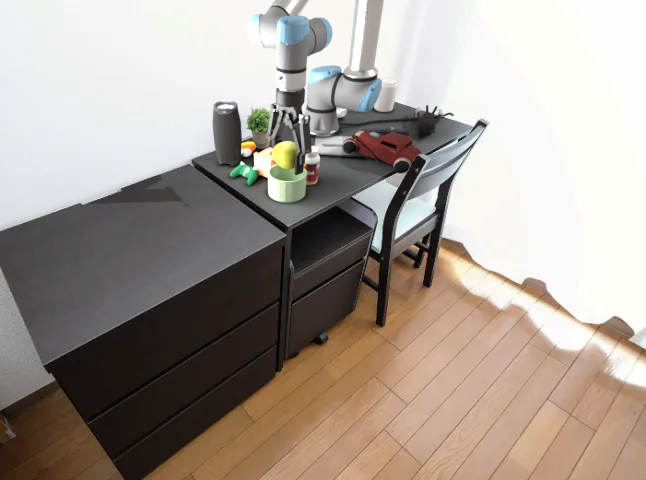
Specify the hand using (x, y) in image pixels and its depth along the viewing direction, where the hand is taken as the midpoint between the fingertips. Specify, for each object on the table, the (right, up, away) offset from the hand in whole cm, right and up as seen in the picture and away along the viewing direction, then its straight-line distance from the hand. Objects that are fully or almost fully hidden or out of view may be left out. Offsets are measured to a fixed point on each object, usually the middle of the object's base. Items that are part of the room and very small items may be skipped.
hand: (287, 167), depth 112 cm
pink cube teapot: (-5, +1, +15) cm, 16 cm away
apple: (0, 0, 0) cm, 0 cm away
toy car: (+35, +7, +20) cm, 41 cm away
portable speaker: (-19, +7, +22) cm, 29 cm away
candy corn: (-12, +15, +28) cm, 34 cm away
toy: (+65, +38, +51) cm, 91 cm away
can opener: (+39, +17, +32) cm, 53 cm away
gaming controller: (-13, -1, +13) cm, 18 cm away
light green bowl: (0, -6, +6) cm, 9 cm away
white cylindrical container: (+47, +39, +56) cm, 83 cm away
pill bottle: (+8, -2, +11) cm, 13 cm away
